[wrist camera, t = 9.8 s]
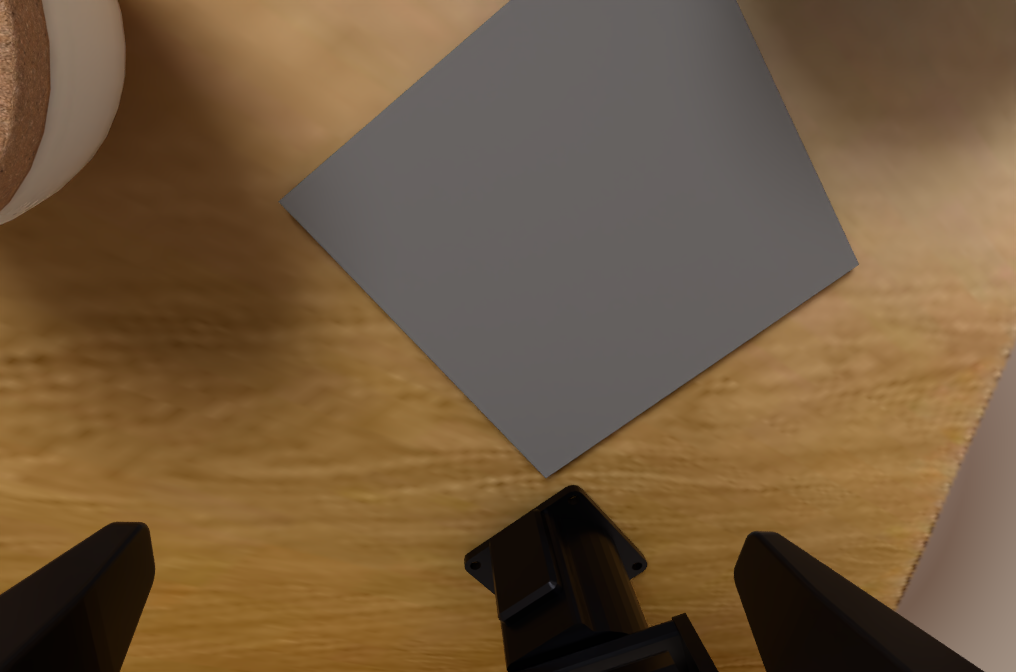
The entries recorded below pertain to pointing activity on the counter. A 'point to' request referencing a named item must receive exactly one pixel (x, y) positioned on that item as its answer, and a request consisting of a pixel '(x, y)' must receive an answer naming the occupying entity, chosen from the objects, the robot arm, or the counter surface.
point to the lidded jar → (55, 93)
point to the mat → (581, 211)
